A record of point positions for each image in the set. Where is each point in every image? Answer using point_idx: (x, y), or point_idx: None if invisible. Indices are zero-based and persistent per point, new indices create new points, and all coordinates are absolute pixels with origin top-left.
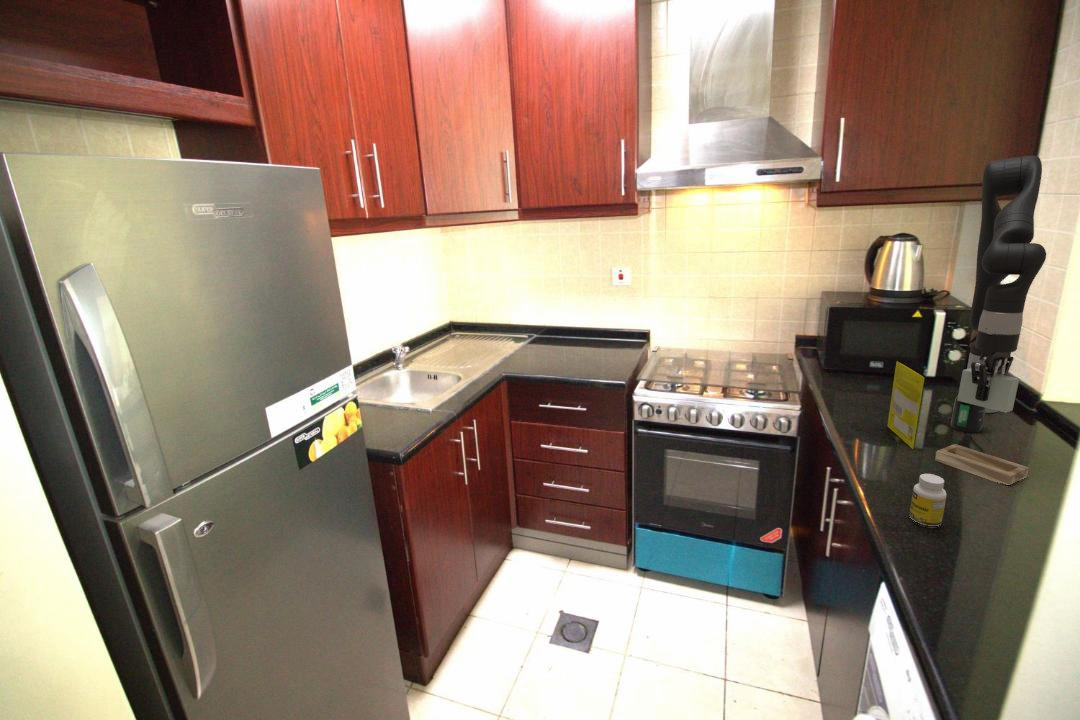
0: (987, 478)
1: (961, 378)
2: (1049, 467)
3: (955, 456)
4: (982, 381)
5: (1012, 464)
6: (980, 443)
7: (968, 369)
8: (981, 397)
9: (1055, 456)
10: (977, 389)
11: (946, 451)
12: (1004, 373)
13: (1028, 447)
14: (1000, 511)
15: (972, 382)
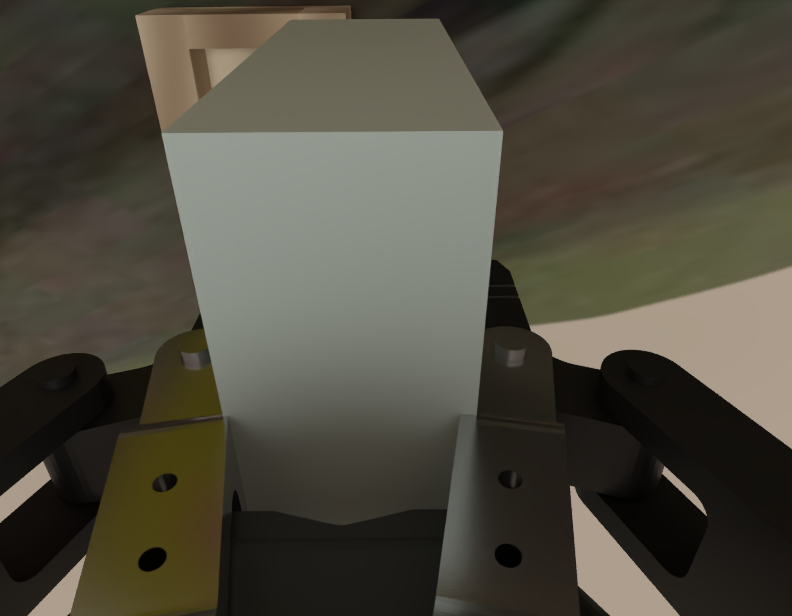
0: None
1: (224, 83)
2: (546, 311)
3: (172, 117)
4: (26, 509)
5: None
6: (629, 16)
7: (358, 173)
8: None
9: (699, 281)
10: (200, 319)
11: (185, 52)
12: (626, 543)
13: (745, 181)
14: (21, 367)
15: (36, 367)
